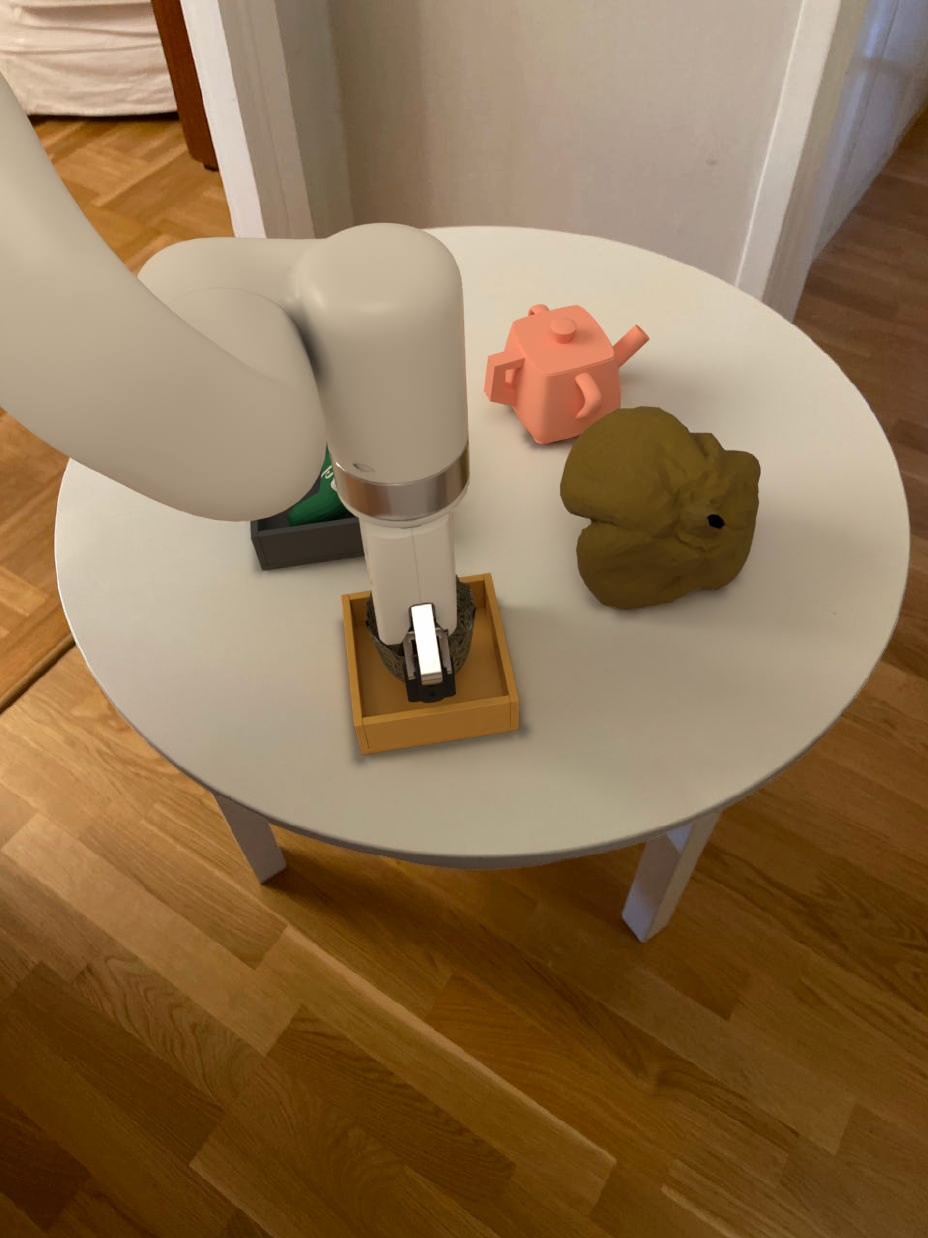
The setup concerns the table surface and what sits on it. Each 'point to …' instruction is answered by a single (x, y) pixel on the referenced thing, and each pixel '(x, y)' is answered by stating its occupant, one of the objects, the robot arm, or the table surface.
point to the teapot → (559, 371)
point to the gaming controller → (319, 501)
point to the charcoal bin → (305, 538)
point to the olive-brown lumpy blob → (658, 508)
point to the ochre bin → (471, 712)
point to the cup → (456, 641)
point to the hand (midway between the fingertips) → (422, 636)
